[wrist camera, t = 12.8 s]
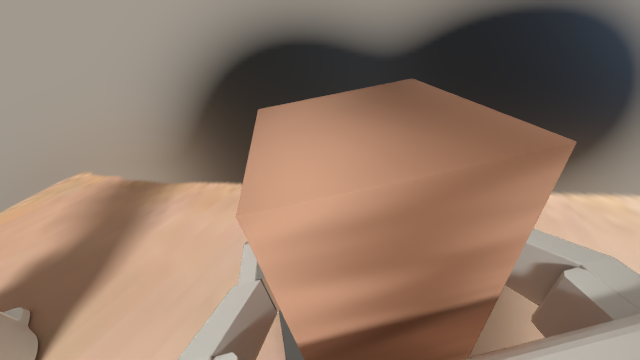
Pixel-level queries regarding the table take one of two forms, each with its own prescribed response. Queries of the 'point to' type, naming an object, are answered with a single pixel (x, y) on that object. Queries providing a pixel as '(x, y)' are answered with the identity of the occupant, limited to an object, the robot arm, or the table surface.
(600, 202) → the table surface
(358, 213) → the terracotta block
